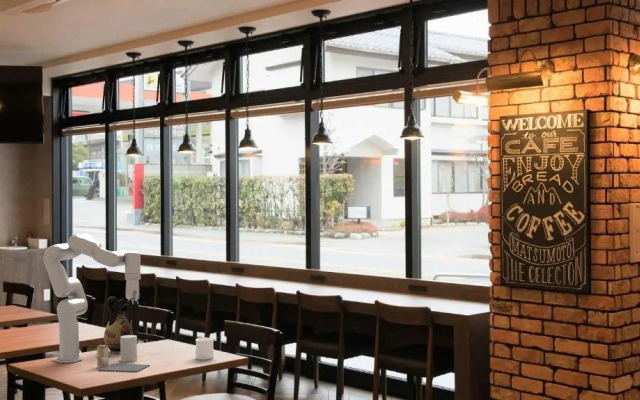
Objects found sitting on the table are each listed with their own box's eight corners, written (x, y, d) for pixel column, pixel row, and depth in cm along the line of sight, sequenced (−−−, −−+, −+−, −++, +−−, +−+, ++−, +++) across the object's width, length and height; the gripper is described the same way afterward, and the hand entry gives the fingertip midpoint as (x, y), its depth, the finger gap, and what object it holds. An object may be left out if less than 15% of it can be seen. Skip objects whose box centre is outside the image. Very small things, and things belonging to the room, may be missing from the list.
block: (97, 367, 386) (96, 346, 385) (101, 365, 389) (100, 344, 389) (104, 367, 385) (104, 346, 385) (108, 365, 389) (108, 345, 389)
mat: (98, 370, 377) (98, 369, 377) (112, 364, 390) (112, 363, 390) (137, 372, 372) (137, 371, 372) (149, 365, 386) (149, 364, 386)
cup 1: (132, 361, 397) (132, 338, 397) (118, 361, 398) (117, 337, 398) (139, 358, 405) (139, 335, 404) (125, 358, 406) (124, 335, 406)
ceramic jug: (124, 347, 435) (123, 293, 435) (138, 351, 423) (137, 295, 423) (96, 352, 423) (95, 296, 423) (109, 356, 412) (108, 299, 412)
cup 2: (201, 360, 396) (201, 341, 396) (191, 358, 404) (190, 339, 404) (217, 358, 403) (217, 339, 403) (206, 355, 410) (206, 336, 410)
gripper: (121, 275, 396) (122, 309, 397) (128, 278, 381) (128, 313, 381) (136, 274, 400) (137, 308, 400) (144, 277, 384) (144, 312, 384)
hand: (133, 310), depth 390 cm, fingers open, 9 cm apart
